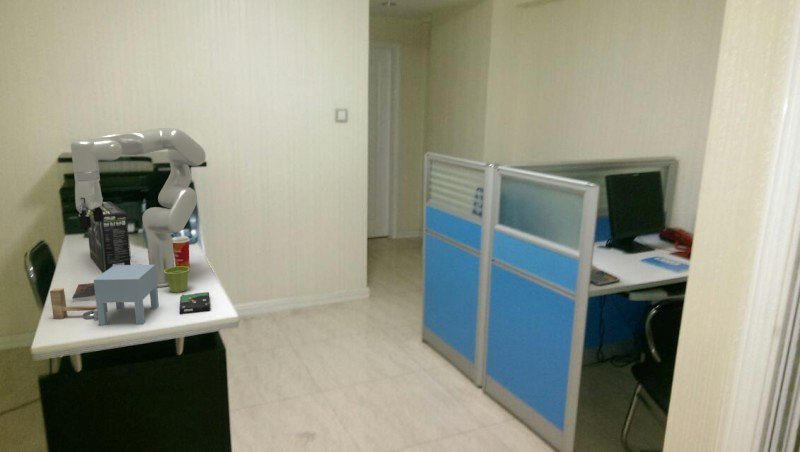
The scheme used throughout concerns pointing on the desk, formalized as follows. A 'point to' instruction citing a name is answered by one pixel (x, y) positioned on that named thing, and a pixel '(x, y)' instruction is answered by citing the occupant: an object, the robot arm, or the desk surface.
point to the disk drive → (194, 303)
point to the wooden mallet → (60, 305)
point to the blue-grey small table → (126, 289)
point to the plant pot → (177, 278)
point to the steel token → (88, 315)
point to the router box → (109, 238)
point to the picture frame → (84, 292)
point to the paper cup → (181, 250)
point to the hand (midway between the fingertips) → (92, 224)
